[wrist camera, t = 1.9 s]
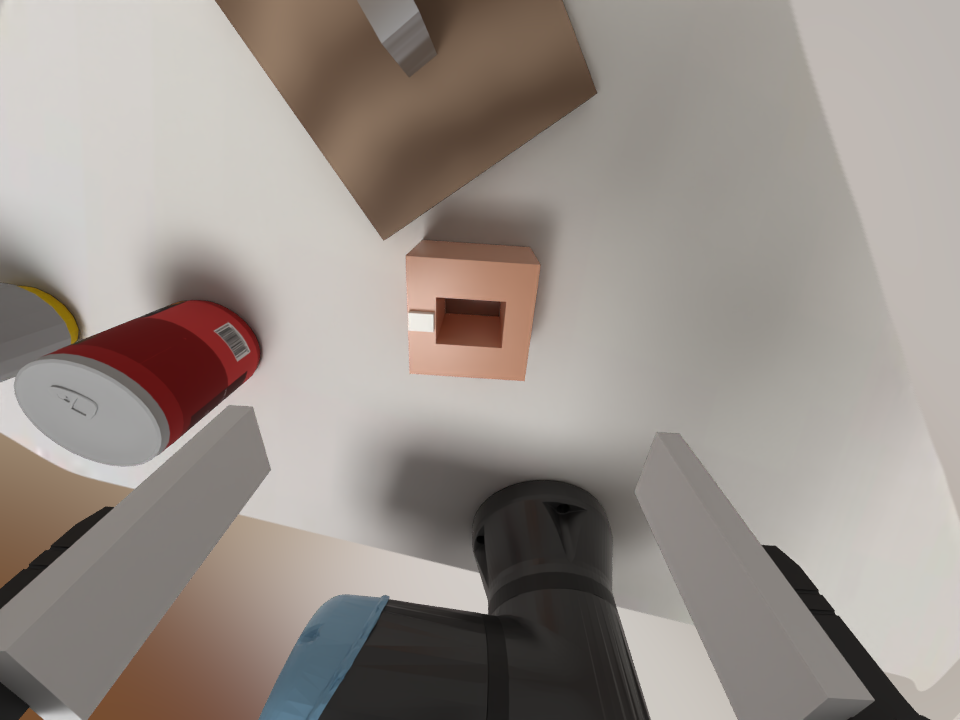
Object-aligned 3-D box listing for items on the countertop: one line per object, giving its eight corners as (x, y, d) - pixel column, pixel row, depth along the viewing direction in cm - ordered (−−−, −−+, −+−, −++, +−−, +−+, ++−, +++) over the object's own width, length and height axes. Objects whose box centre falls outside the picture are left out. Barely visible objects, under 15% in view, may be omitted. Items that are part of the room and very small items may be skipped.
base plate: (590, 98, 22) (634, 64, 16) (388, 237, 26) (355, 258, 20) (448, -271, 16) (420, -587, 9) (214, -16, 20) (79, -110, 14)
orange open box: (530, 247, 26) (541, 266, 21) (518, 344, 30) (525, 383, 24) (422, 239, 26) (404, 257, 21) (423, 338, 30) (408, 376, 24)
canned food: (174, 279, 28) (7, 334, 18) (274, 326, 30) (170, 399, 20) (161, 354, 31) (13, 435, 21) (253, 393, 33) (154, 484, 23)
